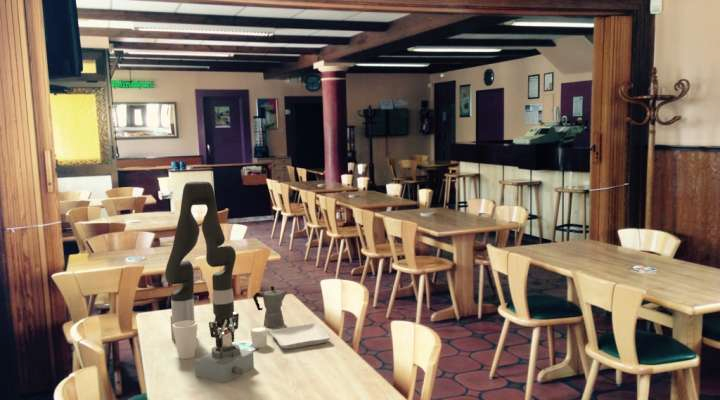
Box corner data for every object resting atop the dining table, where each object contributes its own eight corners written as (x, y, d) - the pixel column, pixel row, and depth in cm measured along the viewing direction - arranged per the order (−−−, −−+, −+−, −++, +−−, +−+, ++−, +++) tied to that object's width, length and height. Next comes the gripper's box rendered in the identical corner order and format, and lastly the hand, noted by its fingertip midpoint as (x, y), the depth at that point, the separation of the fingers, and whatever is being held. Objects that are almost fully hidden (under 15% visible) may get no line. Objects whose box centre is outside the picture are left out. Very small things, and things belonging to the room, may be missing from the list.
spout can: (215, 354, 232) (213, 331, 231) (225, 349, 237) (222, 326, 235) (226, 357, 230) (224, 332, 228) (235, 351, 234) (233, 328, 233)
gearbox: (195, 376, 228) (194, 354, 227) (225, 361, 242) (224, 341, 241) (231, 384, 220) (230, 362, 219) (260, 368, 234) (259, 347, 233)
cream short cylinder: (264, 348, 255) (263, 332, 254) (248, 348, 256) (247, 331, 256) (270, 343, 262) (269, 326, 261) (254, 342, 263) (254, 326, 262)
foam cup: (203, 352, 252) (201, 321, 250) (190, 361, 243) (188, 328, 242) (183, 350, 255) (181, 319, 254) (169, 358, 246) (167, 326, 245)
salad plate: (281, 353, 250) (281, 345, 250) (268, 337, 270) (268, 329, 270) (331, 345, 258) (331, 337, 258) (315, 330, 278) (315, 322, 277)
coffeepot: (287, 320, 292) (285, 282, 290) (289, 326, 283) (288, 287, 281) (253, 323, 289) (252, 285, 286) (254, 329, 279) (253, 290, 277)
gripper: (228, 294, 239) (230, 337, 241) (201, 304, 227) (204, 349, 229) (243, 296, 235) (245, 340, 237) (217, 306, 223) (219, 352, 225)
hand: (225, 344), depth 233 cm, fingers open, 6 cm apart
